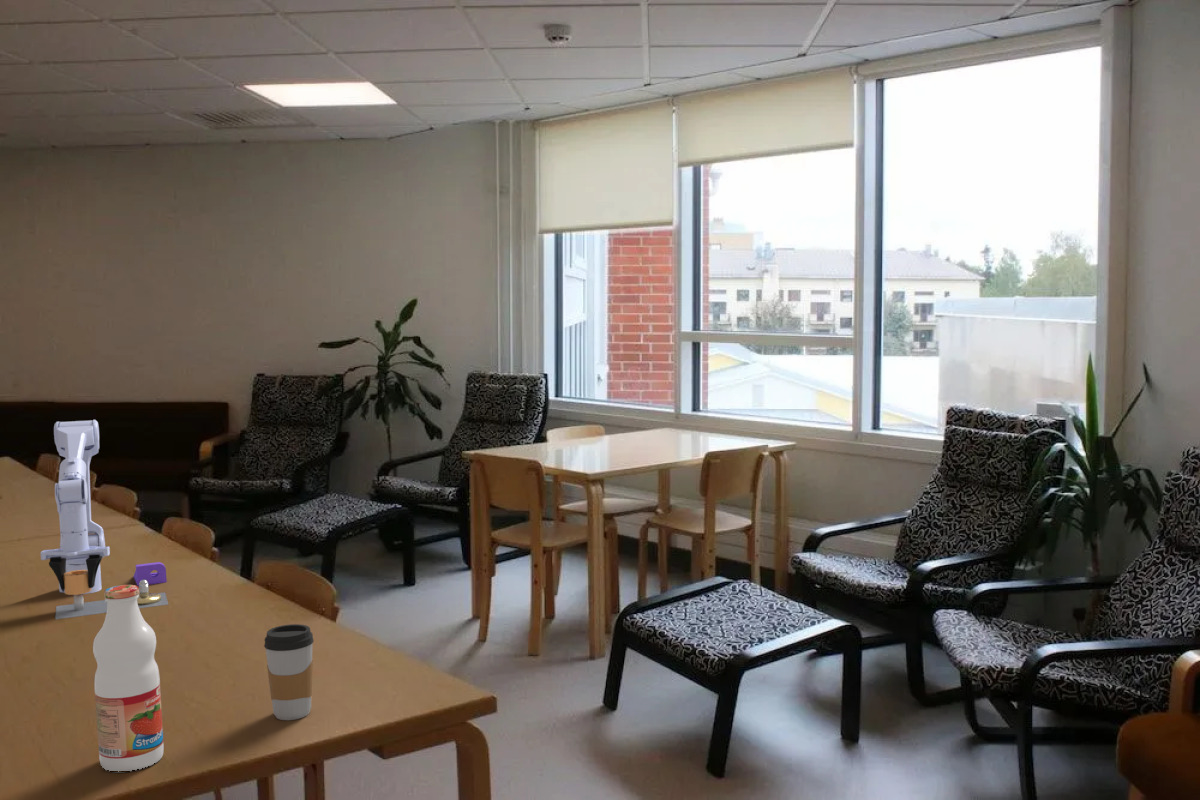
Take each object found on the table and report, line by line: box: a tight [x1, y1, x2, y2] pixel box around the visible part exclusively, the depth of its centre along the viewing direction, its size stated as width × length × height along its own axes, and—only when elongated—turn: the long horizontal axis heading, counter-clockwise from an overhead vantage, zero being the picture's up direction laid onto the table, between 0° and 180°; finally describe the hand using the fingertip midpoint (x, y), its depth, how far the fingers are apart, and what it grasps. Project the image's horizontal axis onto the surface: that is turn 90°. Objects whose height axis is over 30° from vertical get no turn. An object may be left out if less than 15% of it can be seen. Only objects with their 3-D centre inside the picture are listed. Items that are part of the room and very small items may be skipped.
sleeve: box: [64, 570, 91, 596], centre depth 250 cm, size 5×5×4 cm
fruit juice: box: [92, 584, 165, 773], centre depth 169 cm, size 9×9×28 cm
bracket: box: [132, 561, 168, 587], centre depth 278 cm, size 12×7×7 cm, turn 29°
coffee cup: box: [263, 623, 314, 721], centre depth 187 cm, size 8×8×15 cm
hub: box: [137, 580, 161, 605], centre depth 257 cm, size 7×7×5 cm
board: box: [55, 592, 169, 620], centre depth 254 cm, size 24×12×5 cm, turn 116°
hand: (77, 587), depth 250 cm, fingers closed on sleeve, 5 cm apart
